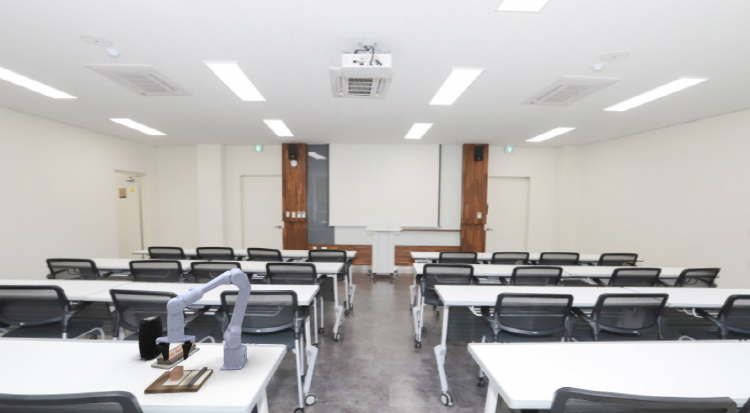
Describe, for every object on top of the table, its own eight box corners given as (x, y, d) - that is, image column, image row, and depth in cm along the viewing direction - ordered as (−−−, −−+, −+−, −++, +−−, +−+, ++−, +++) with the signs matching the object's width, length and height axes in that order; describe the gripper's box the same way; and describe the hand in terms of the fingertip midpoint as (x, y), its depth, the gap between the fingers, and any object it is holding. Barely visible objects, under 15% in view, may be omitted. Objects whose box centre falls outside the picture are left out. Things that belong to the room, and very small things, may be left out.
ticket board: (213, 372, 128) (213, 365, 128) (196, 391, 115) (196, 384, 115) (166, 374, 127) (166, 367, 127) (144, 393, 114) (144, 386, 114)
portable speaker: (166, 353, 144) (166, 314, 144) (147, 363, 135) (146, 321, 135) (154, 350, 147) (153, 312, 146) (134, 360, 138) (133, 319, 137)
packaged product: (182, 339, 149) (199, 341, 148) (183, 348, 149) (199, 350, 148) (150, 358, 132) (169, 360, 130) (150, 368, 132) (169, 370, 130)
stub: (190, 372, 125) (190, 362, 125) (177, 385, 116) (177, 374, 116) (176, 372, 125) (176, 362, 125) (162, 386, 116) (162, 375, 116)
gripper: (198, 322, 126) (199, 353, 126) (163, 324, 124) (163, 355, 124) (190, 329, 119) (190, 362, 119) (152, 331, 117) (152, 364, 117)
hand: (176, 359), depth 121 cm, fingers open, 7 cm apart
